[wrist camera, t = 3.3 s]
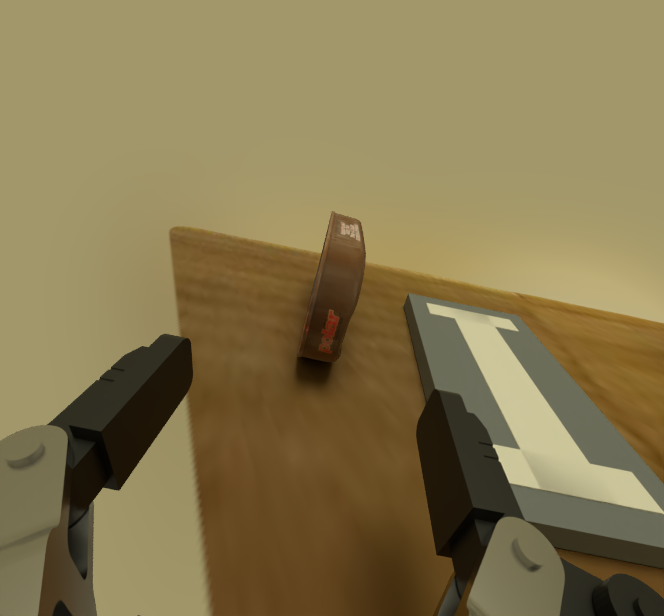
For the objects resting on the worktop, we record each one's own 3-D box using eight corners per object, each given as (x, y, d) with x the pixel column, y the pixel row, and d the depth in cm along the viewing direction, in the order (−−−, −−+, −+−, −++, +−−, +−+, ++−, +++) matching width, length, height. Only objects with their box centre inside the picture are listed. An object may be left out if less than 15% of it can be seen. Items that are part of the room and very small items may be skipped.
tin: (314, 282, 32) (328, 199, 28) (343, 288, 32) (361, 206, 28) (289, 385, 19) (308, 258, 15) (339, 393, 19) (372, 270, 15)
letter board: (510, 327, 31) (518, 314, 30) (702, 576, 13) (732, 560, 13) (403, 306, 31) (408, 292, 30) (455, 527, 13) (470, 508, 12)
